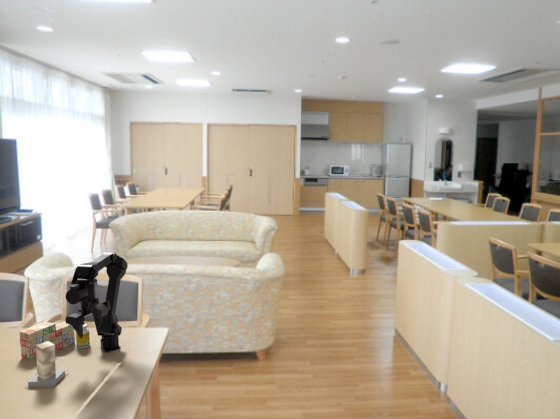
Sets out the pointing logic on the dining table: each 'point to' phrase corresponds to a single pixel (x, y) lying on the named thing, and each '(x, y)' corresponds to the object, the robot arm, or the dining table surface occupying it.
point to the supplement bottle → (85, 340)
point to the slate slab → (46, 380)
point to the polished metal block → (45, 360)
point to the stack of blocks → (45, 337)
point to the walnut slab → (49, 387)
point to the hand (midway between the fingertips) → (89, 333)
